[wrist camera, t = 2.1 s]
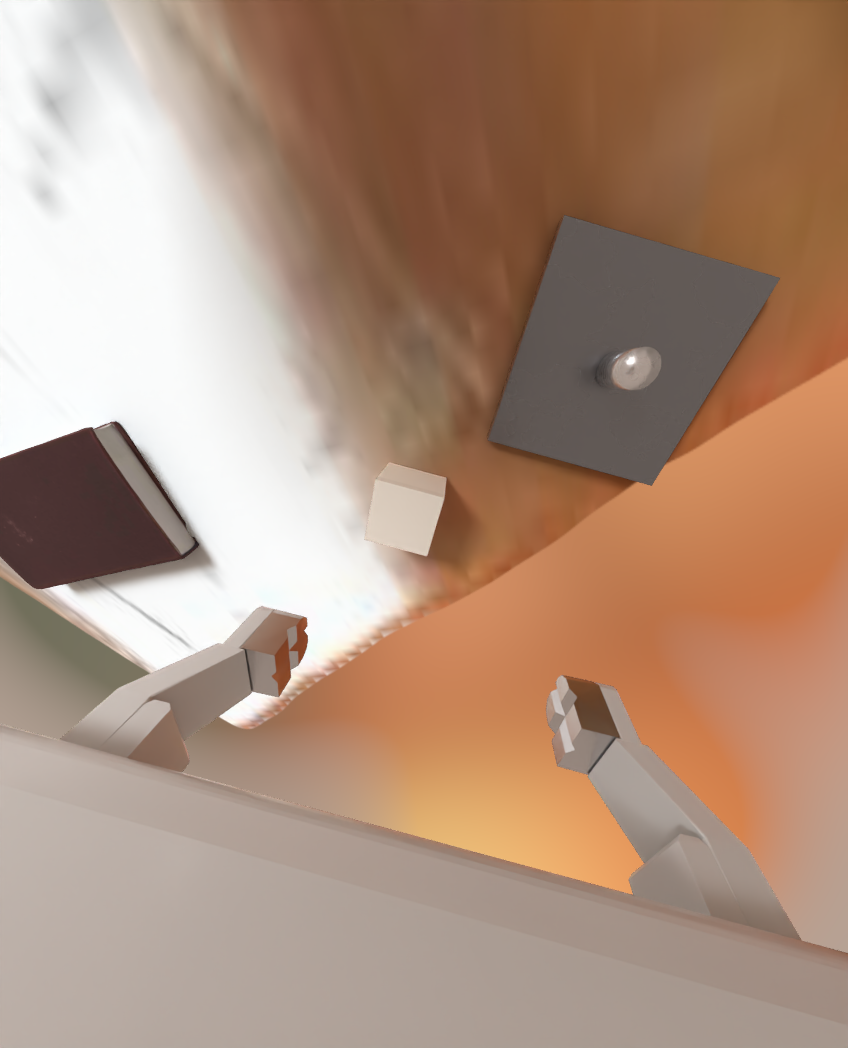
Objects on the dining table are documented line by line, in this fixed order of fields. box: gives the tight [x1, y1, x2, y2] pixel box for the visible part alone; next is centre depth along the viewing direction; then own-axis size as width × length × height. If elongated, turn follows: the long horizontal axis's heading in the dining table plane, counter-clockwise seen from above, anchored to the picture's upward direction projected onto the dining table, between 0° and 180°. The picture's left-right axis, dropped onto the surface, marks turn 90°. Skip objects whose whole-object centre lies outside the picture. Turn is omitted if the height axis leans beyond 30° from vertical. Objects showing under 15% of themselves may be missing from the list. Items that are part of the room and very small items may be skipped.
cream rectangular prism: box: [364, 462, 447, 556], centre depth 27 cm, size 5×5×5 cm
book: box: [0, 421, 199, 589], centre depth 32 cm, size 14×22×4 cm, turn 105°
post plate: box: [487, 215, 780, 486], centre depth 21 cm, size 14×14×5 cm
